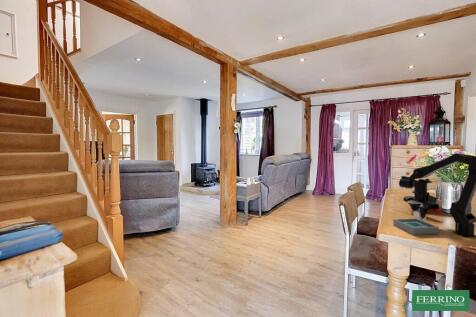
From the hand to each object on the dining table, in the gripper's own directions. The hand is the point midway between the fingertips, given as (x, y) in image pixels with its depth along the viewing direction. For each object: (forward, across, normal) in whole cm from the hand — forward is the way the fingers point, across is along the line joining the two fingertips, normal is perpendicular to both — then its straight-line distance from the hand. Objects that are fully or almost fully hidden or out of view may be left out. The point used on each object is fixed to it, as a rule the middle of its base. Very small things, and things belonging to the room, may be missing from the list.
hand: (419, 217), depth 135 cm
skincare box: (+3, +14, -10) cm, 17 cm away
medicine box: (+4, +22, -22) cm, 31 cm away
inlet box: (+3, -10, +10) cm, 15 cm away
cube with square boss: (+2, 0, 0) cm, 2 cm away
